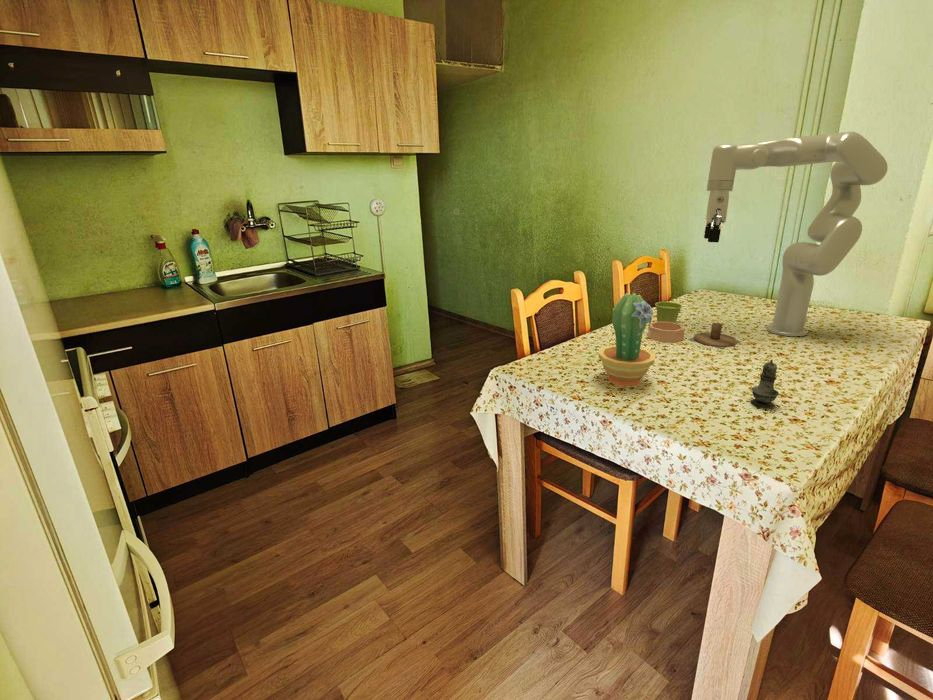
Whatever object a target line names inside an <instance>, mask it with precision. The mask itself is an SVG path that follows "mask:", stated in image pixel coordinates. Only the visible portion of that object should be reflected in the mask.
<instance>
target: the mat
mask: <svg viewBox="0 0 933 700" xmlns="http://www.w3.org/2000/svg"><path fill="white" fill-rule="evenodd" d="M687 340H688V341H691V342H695V343H697V342H696V341H695V340H694V337H691V338H688V339H687ZM739 343H742V341H741V340H737V339H736V344H735V345H737V344H739ZM711 348H716V349H720V350H723V349H725V348H727V347H715V346H711Z"/></svg>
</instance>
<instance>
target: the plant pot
mask: <svg viewBox="0 0 933 700" xmlns="http://www.w3.org/2000/svg"><path fill="white" fill-rule="evenodd" d="M654 306H655V309H656V322H657V321H659V322H673V323H677V319H678V317H679V313H680V312H681V309H683V305H682V304H680V303H677V302H673V301H671V302H670V301H657V302H656V303H654Z"/></svg>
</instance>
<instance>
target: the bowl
mask: <svg viewBox="0 0 933 700" xmlns="http://www.w3.org/2000/svg"><path fill="white" fill-rule="evenodd" d="M647 330H648V331H647V332H648V333H647V336H648V339H650V340H654V341H655V342H656V341H657V342H660V343H679V342H681V341H684V336H685V327H684V326H683V324H680V323H677V322H676V323H673V322H659V321H657V320H656V321H654V322H651V324H649V323H648V329H647Z"/></svg>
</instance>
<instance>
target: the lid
mask: <svg viewBox="0 0 933 700" xmlns="http://www.w3.org/2000/svg"><path fill="white" fill-rule="evenodd" d="M722 327H723V324H722V323H720V322H713V323H712V324H711V330H710V332H706V331H705V332H704V331H703V332H698V333H695V334H694V335H693V338H694V340H695V341H696V342H695V341H694V342H695V343H698V344H702V345H704V346H709V347H712V346H715V347H714V348H716V347H726V348H729V347H733V346H735V345H737V344H736V340H737V339H736V338H735V337H733V336H730V335H728V334H725V333H722V330H723V329H722Z"/></svg>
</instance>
